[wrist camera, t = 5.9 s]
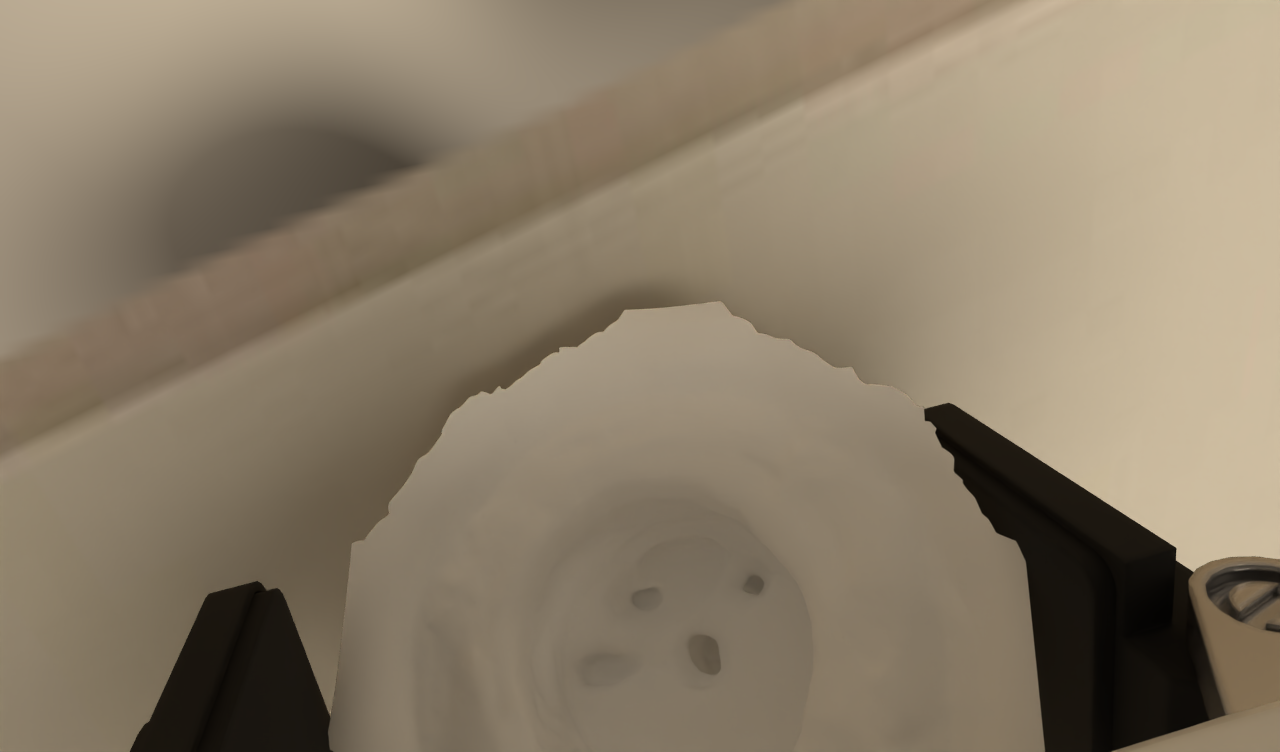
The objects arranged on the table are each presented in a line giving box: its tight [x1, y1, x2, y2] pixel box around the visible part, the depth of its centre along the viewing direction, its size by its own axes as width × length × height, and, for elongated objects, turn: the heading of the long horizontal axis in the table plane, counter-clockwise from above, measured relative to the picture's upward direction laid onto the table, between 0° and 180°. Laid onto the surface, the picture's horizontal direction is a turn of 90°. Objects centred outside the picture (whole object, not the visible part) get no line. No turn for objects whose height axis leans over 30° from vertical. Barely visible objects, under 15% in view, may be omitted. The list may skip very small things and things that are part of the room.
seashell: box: [328, 301, 1045, 752], centre depth 11 cm, size 8×5×8 cm
